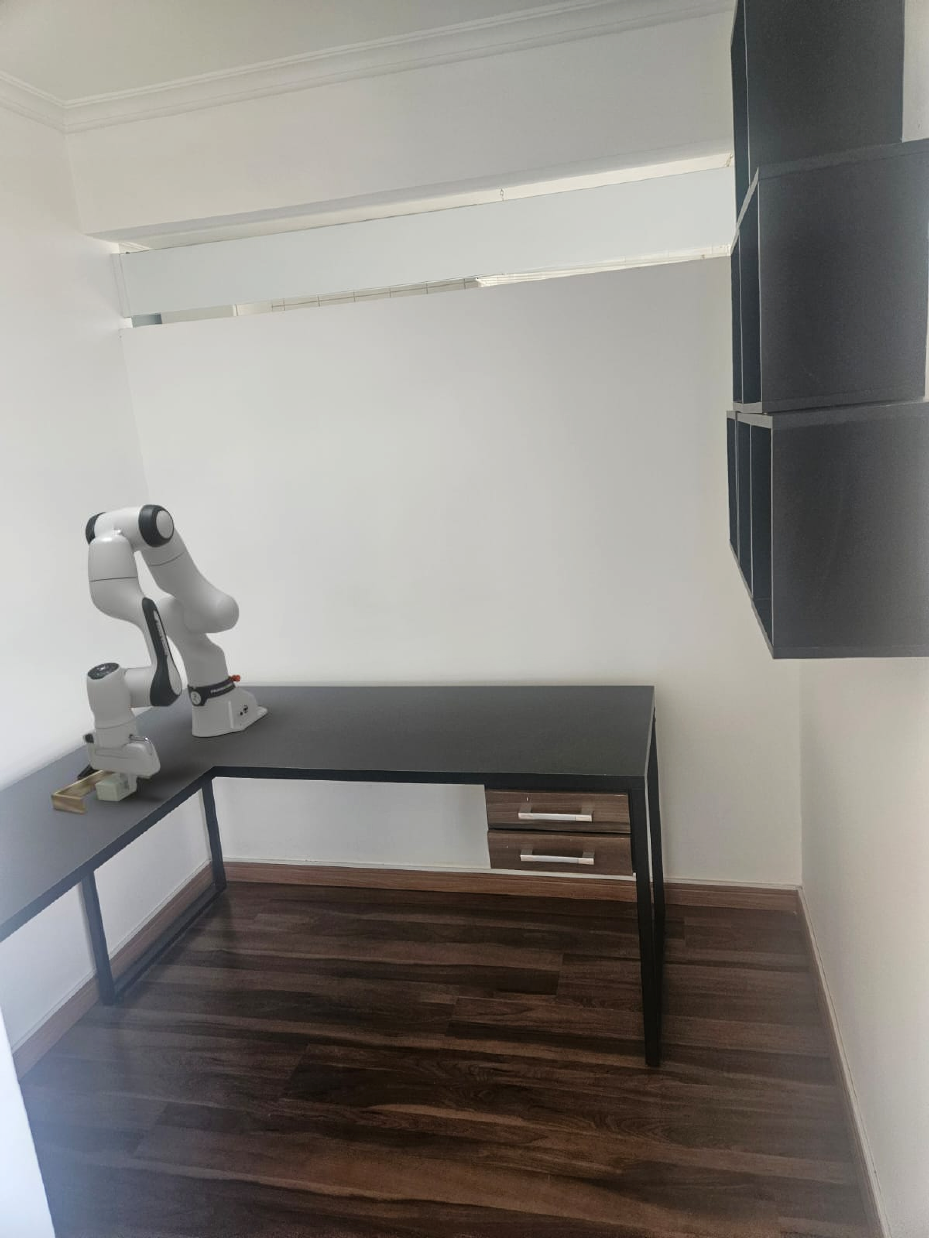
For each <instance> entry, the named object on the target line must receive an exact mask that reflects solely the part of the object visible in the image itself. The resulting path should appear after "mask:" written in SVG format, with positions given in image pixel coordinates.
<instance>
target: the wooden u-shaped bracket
mask: <svg viewBox="0 0 929 1238" xmlns="http://www.w3.org/2000/svg"><path fill="white" fill-rule="evenodd" d="M112 774H116V773H115V772H112V771H104V770H100V771H98V772H96V773H94V774H92V775H90V776H88V777H86V778H84V779H82V780H77V781H76V782H74V783H71V784H70V785H68V786H66V787H64V788H61V789H60V790H58V791H55V792H54V793H52V794H50V798H51V801H52V806H53V809H54V810H55V809H56V810H60V811H66V812H73V813H76V814H77V813H78V814H85V813H87V811H86V804H85V802H84V798H83V796H85V795H86V794H88V793H90V792H92V791H94V790H96V786H95V784H96V783H98V782H100V781H102V780H103V779H105V778H107V777H109V776H110V775H112ZM137 778H140V779H147V780H149V779H151V778H152V775H150V776H143V775H138V776H137Z"/></svg>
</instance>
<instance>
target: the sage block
mask: <svg viewBox="0 0 929 1238" xmlns="http://www.w3.org/2000/svg"><path fill="white" fill-rule="evenodd" d="M128 778H129V777H128ZM95 786H96V789H95V790H96V793H97V798H98V801H108V802H109V801H111V802H119V801H122V799H124V798H126V797H128V796H129V795H131V794H133V793H134V792H136V791H137V788H135V789H133V790H129V789H123V787H122V783H121V782H120V780H119V779H118V777H117V776H116V774H112V775H110V776H109V777H107V778H105V779H103V780H102V781H100V782H98V783H96V784H95Z"/></svg>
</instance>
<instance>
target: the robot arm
mask: <svg viewBox="0 0 929 1238" xmlns="http://www.w3.org/2000/svg"><path fill="white" fill-rule="evenodd" d="M84 529H85V530H84V531H85V532H84V533H85V534H84V536H85V540H86V543H87V544H88V552H87V554H88V555H87V558H88V559H87V576H88V585H89V587H88V588H89V592H90V593H89V594H90V598H91V601H92V603H93V605H94V607H96V609H97V610H98V611H99V612H101V613H103V614H104V615H105V616H108V617H110V618H113V619H118V620H120V621H125V622H126V623H131V624H132V625H134V626H136V627H137V628H138V629H139V630H140V631H141V633H142V635H143V638H144V641H145V645H146V648H147V651H148V654H149V658H150V662H151V664H150V665H149V666H148V665H147V666H138V667H127V668H125V667H122V666H121V665H120V664H119V663H117V662H104V663H101V664H99V665H97V666H96V665H95V666H93V667H92V668H91V669H89V671H87V673H86V683H85V684H86V691H87V693H86V694H87V698H88V703H89V708H90V711H91V712H92V714H93V716H94V722H93V723H94V728H93V729H92V730H89V731H88V732H86V733H84V734H83V735H82V740H83V742H84V743H85V750H86V755H87V759H88V763H89V764H90V765H91V766H92V768H93V769H96V770H104V771H112V772H115V773H116V776H117V777H118V779H119V780H120V782H121V783H122V787H123V789H129V790H133V789H135V788H136V789H137V787H138V785H137V778H138V777H137V776H138V775H143V776H150V775H151V776H153V775H155V774H156V773H158V772H159V771H160V769H161V763H160V759H159V755H158V753H157V751H156V747H155V745H154V743H152V741H151V740H149V738H147V736H145V735H140V733H139V729H138V725H137V720H136V716H135V713H134V711H133V710H132V709H139V708H148V707H149V708H150V707H155V708H156V707H157V708H159V707H160V708H161V707H164V708H166V707H171V706H172V705H173V704H174V703H175V702H176V701H177V700H178V698H179V697H180V696H181V694H182V692H183V682H182V678H181V675H180V672H179V670H178V668H177V665H176V663H175V660H174V657H173V654H172V652H171V647H170V644H169V641H168V638H169V639H170V641H171V642H172V644H173V645H174V647H175V648H176V650H177V651H178V653H179V656H180V657H181V660H182V663H183V667H184V671H185V676H186V680H187V685H186V687H187V693H188V697H189V699H190V704H191V714H192V715H191V720H192V722H191V723H192V724H191V726H192V728H191V734H192V736H195V737H200V738H204V737H207V738H208V737H217V736H221V735H225V734H229V733H233V732H241V731H244V730H245V729H246V728H247V727H249V726H250V725H252V724H254V723H255V722H256V721H258V720H259V719H261V718H262V717H263V716H265V715H266V714H268V710H267V708H265V707H262V706H258V705H259V704H258V702H257V699H256V697H255V696H254V694H253V693H251V692H249V691H246V690H244V689H242V688H240V687H237V686H236V683H239V682H240V681H241V679H242V678H241V675H240V674H232V675H229V672H228V665H227V661H226V660H227V659H226V656H225V652H224V650H223V648H221V647H220V646H219V645H217V644H216V643H214V642H213V641H212V640H211V639H210V638H209V636H208V635H207V634H218V633H222V632H226V631H229V630H231V629H233V628H235V626H236V625H237V623H238V621H239V618H240V608H239V605H238V603H237V601H236V600H235V598H234V597H232V596H231V595H229V594H226V593H225V592H223V591H221V590H219V589H218V588H217V587H216V586H215V585H213V584H212V583H211V582H210V581H209V580H208V579H207V578H206V577H205V576H204V575H203V574H202V572H200V570H199V569H198V568H197V566H196V564H195V562H194V560H193V558H192V556H191V555H190V552H189V550H188V548H187V546H186V545H185V542H184V541H183V538H182V536H181V535H180V533H179V532H178V530H177V529H176V527H175V523H174V520H173V517H172V515H171V513H170V512H169V511H168V510H167V508H165V507H163V505H162V506H161V505H158V504H145V505H135V506H133V505H132V506H131V505H130V506H125V507H122V508H117V509H113V510H111V511H104V512H99V513H97V514H95V515H93V516H91V517H89V519H88V521H87V523H86V526H85V528H84ZM136 552H140V555H141V557H142V559H143V561H144V563H145V565H146V567H147V568H148V571H149V572H150V575H151V577H152V578H153V580H154V582H155V584H156V586H157V587H158V589H160V590H162V592H165V593H166V594H168V595H170V596H166V597H164V598H163V597H162V598H160V599H158V600H157V601H156V602H155V601H154V600H153V599H151V598H148V597H147V596H146V594H145V593H144V591H143V590H142V587H141V585H140V581H139V572H138V567H137V563H136V558H135V553H136ZM128 777H129V778H128Z"/></svg>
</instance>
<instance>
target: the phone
mask: <svg viewBox="0 0 929 1238" xmlns="http://www.w3.org/2000/svg"><path fill="white" fill-rule="evenodd" d="M98 771H100V770H96V769H93V768H92V766H91V765H90V763H89V764H88V765H87V766H86V767H85V768H84V769H83V770H82V771H81V772H80V773H79V774H78V775H77V776H76V778H77V781H80V780H82V779H84V778H86V777H88V776H90V775H92V774H94V773H96V772H98Z"/></svg>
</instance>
